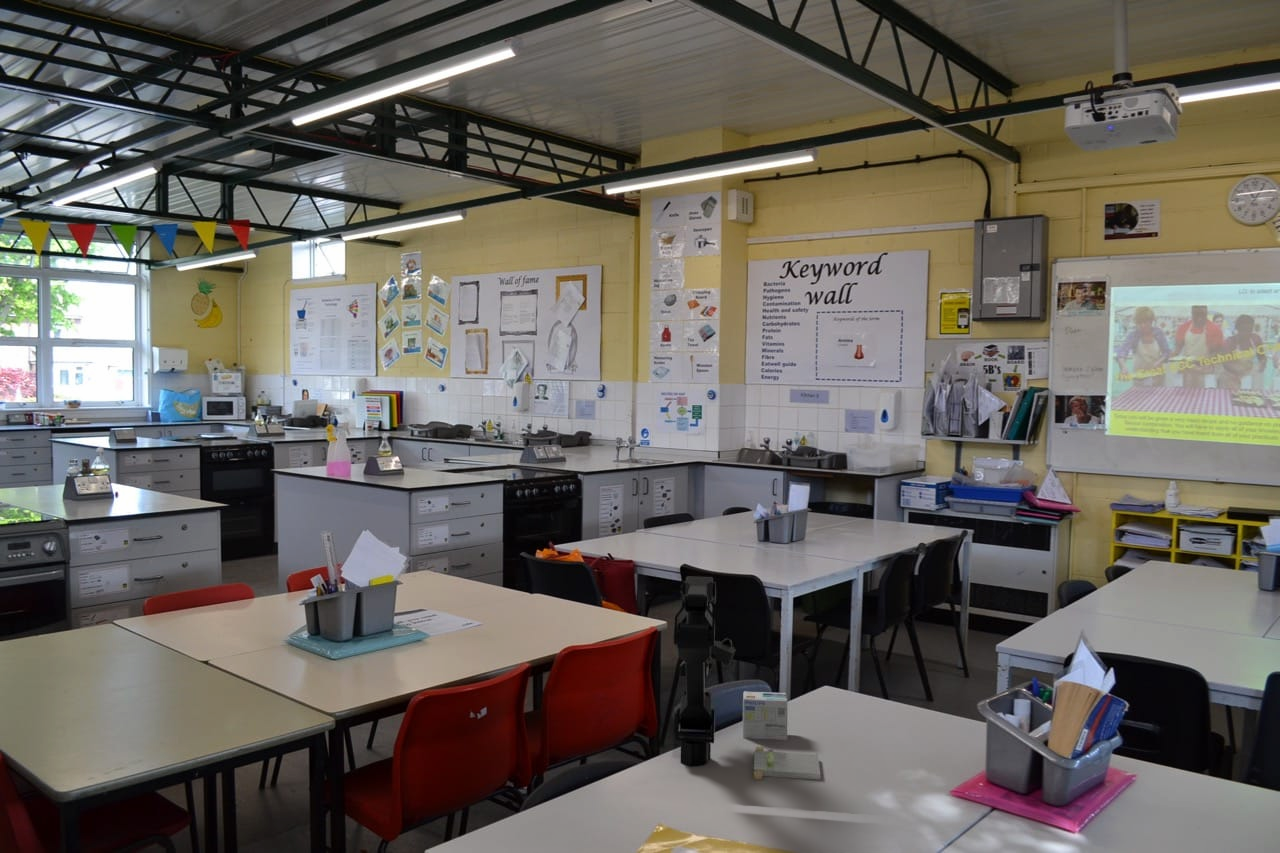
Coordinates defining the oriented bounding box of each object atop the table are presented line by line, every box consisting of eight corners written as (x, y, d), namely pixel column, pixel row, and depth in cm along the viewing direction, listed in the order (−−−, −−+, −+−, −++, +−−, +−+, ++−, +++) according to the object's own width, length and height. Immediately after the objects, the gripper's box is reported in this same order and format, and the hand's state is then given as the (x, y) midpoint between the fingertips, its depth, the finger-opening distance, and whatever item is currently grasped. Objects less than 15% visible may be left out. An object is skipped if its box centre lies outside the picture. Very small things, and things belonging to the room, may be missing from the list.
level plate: (753, 775, 194) (753, 761, 194) (754, 755, 205) (754, 743, 205) (820, 779, 192) (820, 766, 192) (818, 760, 203) (818, 747, 203)
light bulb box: (786, 735, 222) (786, 691, 222) (788, 745, 215) (788, 700, 215) (742, 733, 223) (742, 690, 223) (742, 743, 216) (743, 698, 216)
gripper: (729, 642, 202) (728, 712, 202) (737, 623, 220) (736, 687, 220) (679, 639, 204) (678, 708, 204) (691, 620, 222) (690, 683, 223)
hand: (697, 696), depth 213 cm, fingers closed
